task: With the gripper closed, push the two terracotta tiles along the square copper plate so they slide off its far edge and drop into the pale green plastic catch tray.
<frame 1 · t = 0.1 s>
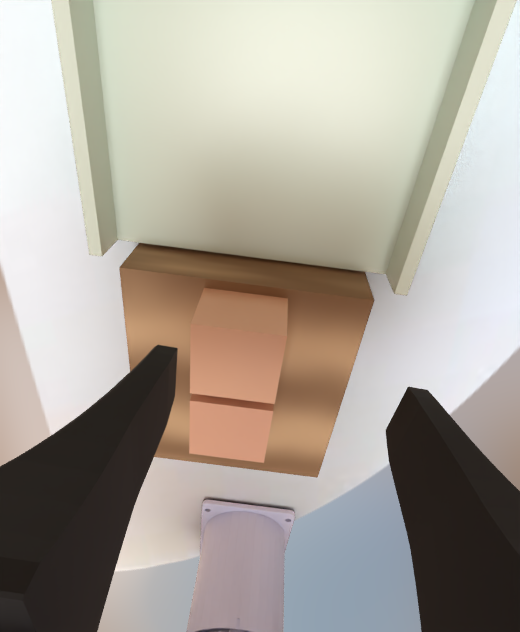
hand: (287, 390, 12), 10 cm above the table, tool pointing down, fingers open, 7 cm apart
tray: (266, 121, 17), on the table
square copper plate: (241, 357, 25), on the table
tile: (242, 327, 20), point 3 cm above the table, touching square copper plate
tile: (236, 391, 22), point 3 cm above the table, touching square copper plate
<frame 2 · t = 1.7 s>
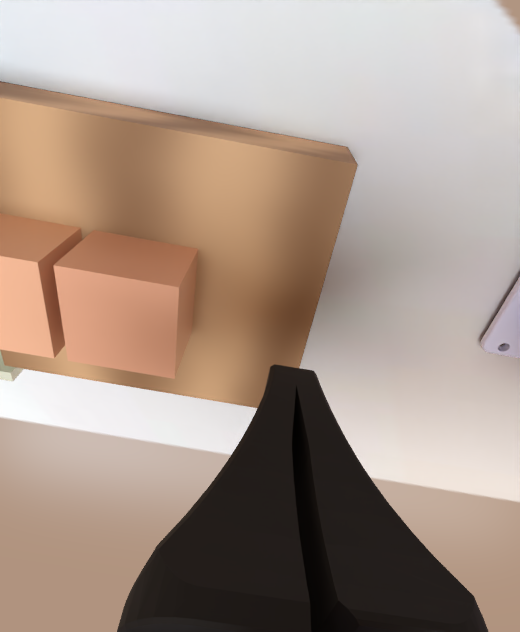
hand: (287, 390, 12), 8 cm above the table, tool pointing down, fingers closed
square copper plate: (166, 253, 18), on the table
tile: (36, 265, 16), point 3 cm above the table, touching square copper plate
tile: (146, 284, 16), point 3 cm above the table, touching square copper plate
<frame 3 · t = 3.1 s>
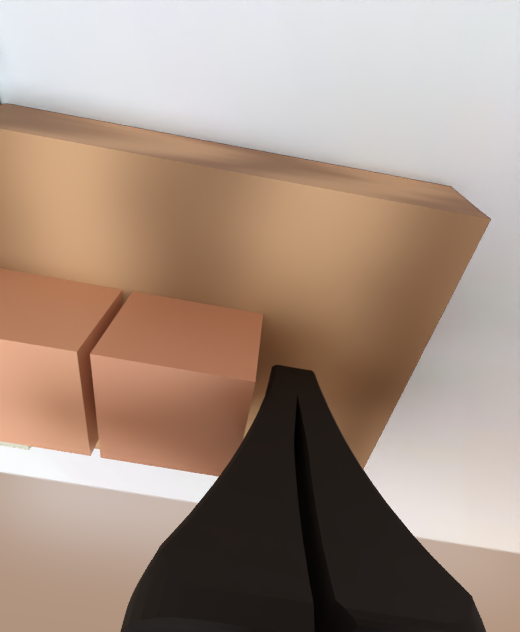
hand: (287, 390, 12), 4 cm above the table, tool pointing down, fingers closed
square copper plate: (214, 306, 15), on the table
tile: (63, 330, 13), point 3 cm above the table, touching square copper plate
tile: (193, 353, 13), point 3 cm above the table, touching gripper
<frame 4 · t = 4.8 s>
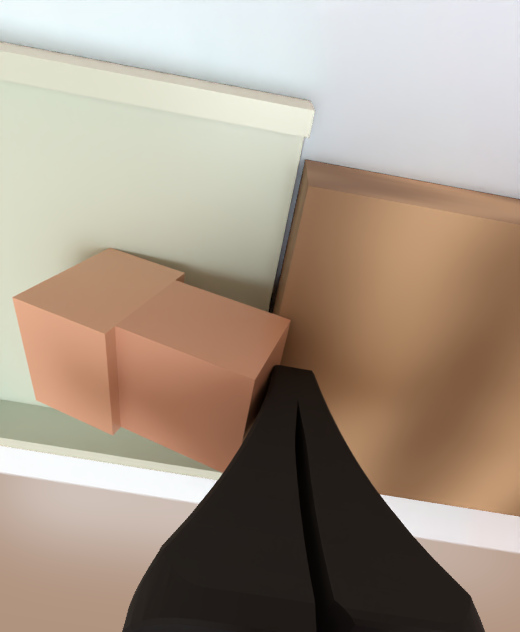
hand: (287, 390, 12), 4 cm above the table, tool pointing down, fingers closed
tray: (108, 287, 15), on the table
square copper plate: (442, 345, 16), on the table
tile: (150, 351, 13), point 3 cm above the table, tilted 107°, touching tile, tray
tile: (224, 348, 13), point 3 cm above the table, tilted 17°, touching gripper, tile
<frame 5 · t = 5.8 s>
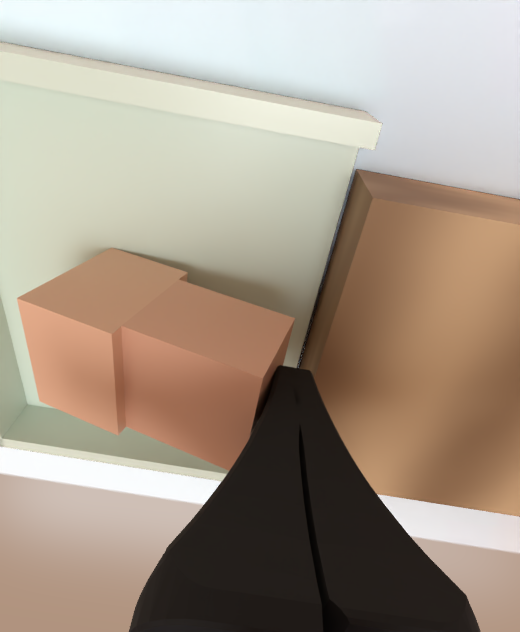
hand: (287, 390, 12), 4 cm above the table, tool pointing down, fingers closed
tray: (149, 295, 15), on the table
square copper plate: (481, 352, 16), on the table
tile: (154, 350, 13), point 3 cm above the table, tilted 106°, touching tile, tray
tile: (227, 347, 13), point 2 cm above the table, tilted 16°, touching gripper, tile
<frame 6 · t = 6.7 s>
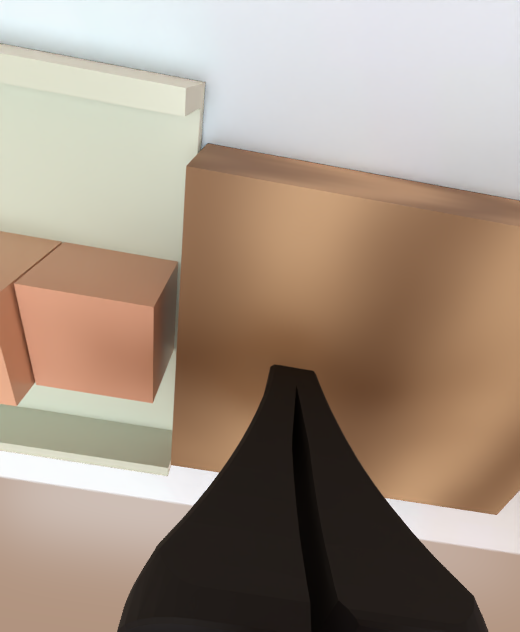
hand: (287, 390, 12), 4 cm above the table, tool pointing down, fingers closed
tray: (27, 277, 15), on the table
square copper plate: (368, 335, 16), on the table
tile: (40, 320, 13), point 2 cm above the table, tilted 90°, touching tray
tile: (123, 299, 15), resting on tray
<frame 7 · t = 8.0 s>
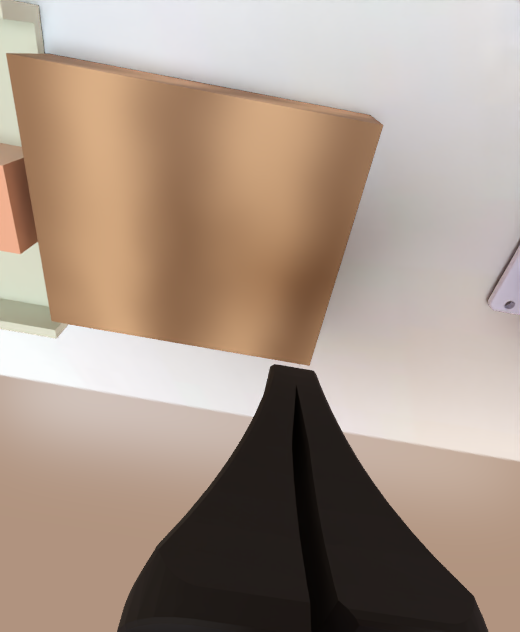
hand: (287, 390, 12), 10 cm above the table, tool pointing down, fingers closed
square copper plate: (201, 217, 20), on the table
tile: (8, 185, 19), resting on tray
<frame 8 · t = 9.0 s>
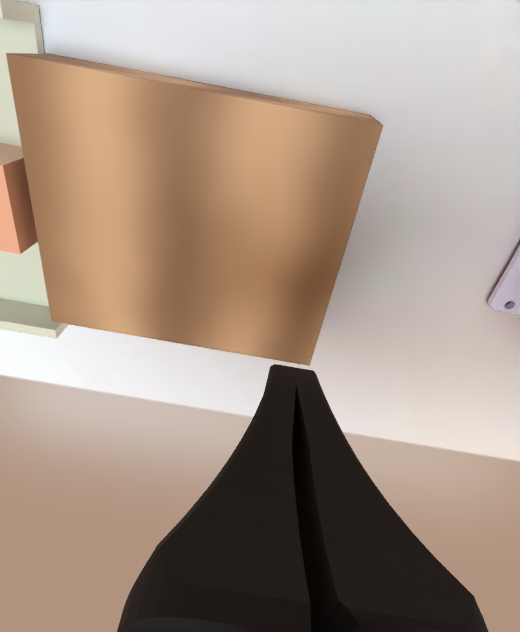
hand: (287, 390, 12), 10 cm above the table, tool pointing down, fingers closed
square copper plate: (201, 217, 20), on the table
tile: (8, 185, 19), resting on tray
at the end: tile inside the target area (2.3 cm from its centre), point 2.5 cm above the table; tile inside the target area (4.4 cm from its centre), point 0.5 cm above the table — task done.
